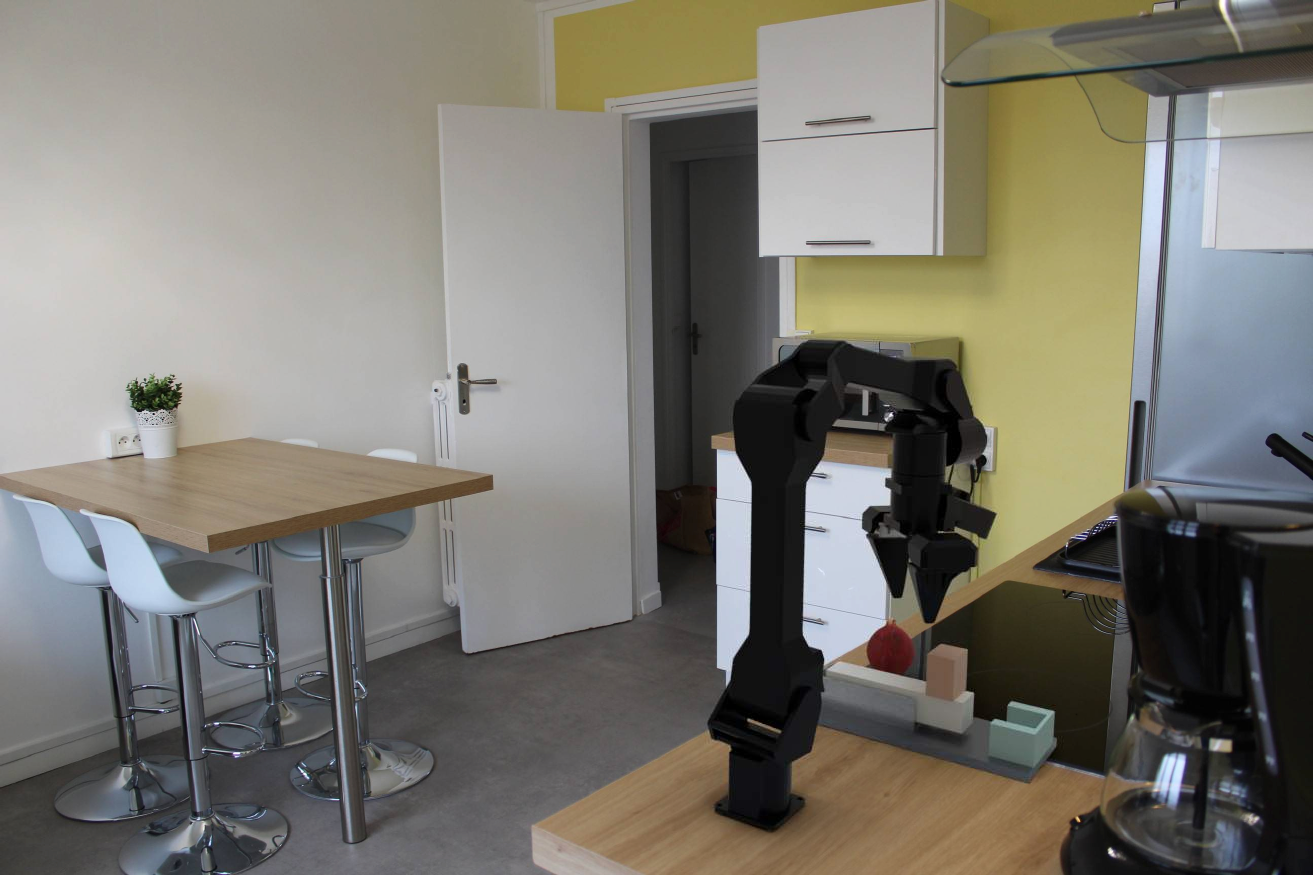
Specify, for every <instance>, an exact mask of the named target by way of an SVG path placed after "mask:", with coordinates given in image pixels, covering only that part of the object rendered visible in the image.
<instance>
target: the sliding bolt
mask: <svg viewBox="0 0 1313 875" xmlns="http://www.w3.org/2000/svg"><path fill="white" fill-rule="evenodd" d="M968 651H969V649H967V648H962V647H957V646H953V645H949V644H943V643H940V644H939V645H937V646H936V647H935V648H933V649H931V650H930V651H929V652H928V653H927V654H926V674H925V675H926V677H925V678H926V680H925V681H924V680H920V679H918V678H914V677H913V678H912V677H909V676H904V675H896V674H892V673H888V672H883V671H879V670H875V669H873V668H872V667H871V668H870V667H866V666H861V665H858V664H857V665H856V664H853V663H849V662H846V661H845V662H844V661H841V660H840V661H837V662H835V663H836V664H834V665H833V666H831V667H830V668H828V669H827V670H826V677H828V678H832V679H836V680H840V681H844V682H848V683H852V684H856V685H860V686H864V687H868V688H872V689H876V690H880V691H884V692H888V693H892V694H896V695H900V696H905V697H909V698H913V699H916V716H915V721H916V722H919V723H923V724H927V725H931V726H935V727H939V728H943V729H946V730H950V731H954V732H958V733H963V732H964V731H965V730H966V729H967V728H968V727H969V726H970V725H971V724H972V723H973V717H974V701H975V700H974V699H975V693H974V692H972V691H968V690H967V676H968V672H967V671H968Z"/></svg>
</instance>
